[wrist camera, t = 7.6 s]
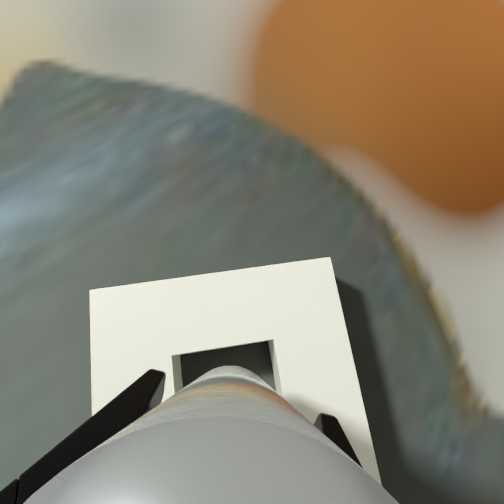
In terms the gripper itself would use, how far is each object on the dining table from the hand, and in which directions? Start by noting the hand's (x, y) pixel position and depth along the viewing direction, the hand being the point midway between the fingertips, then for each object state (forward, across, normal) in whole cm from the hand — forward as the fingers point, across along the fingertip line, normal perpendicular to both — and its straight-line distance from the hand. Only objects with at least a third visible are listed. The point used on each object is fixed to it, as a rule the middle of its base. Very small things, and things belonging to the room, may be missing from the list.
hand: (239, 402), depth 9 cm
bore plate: (+8, 0, +10) cm, 13 cm away
